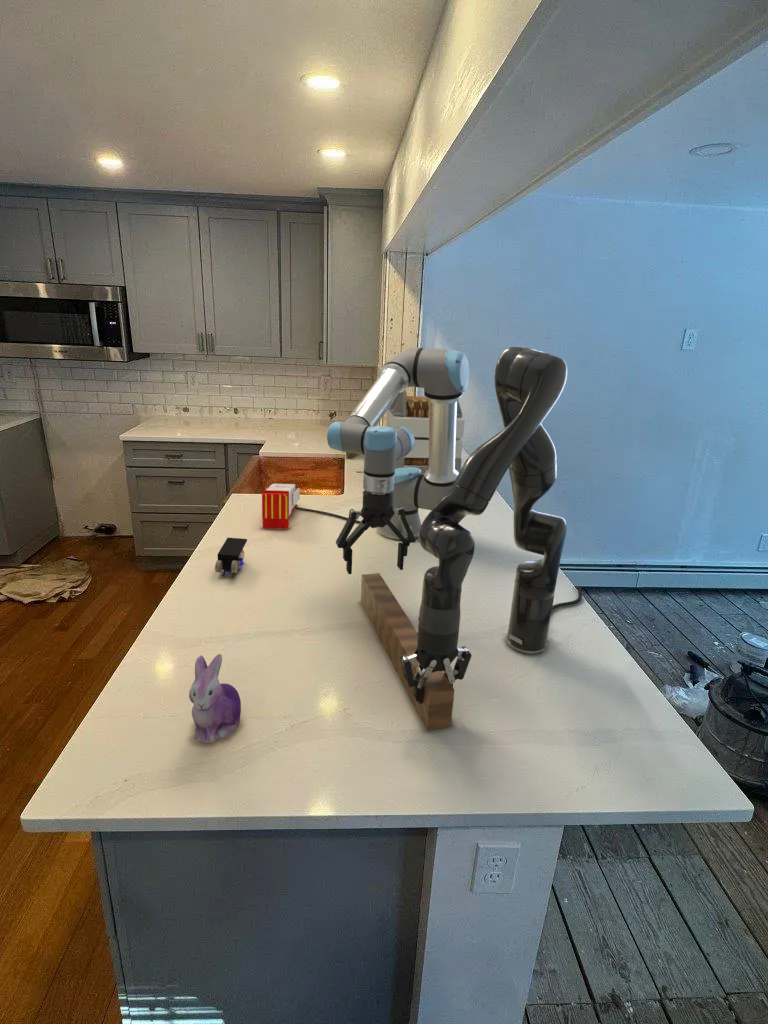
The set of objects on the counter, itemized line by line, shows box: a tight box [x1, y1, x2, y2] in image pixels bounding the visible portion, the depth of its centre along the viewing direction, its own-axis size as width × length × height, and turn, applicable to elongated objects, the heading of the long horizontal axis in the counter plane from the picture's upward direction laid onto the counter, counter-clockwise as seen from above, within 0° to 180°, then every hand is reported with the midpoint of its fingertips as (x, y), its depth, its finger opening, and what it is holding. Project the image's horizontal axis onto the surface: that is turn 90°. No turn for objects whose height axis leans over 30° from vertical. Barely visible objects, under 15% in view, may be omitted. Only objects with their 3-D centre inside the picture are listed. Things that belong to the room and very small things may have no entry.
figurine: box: [188, 653, 242, 744], centre depth 103 cm, size 9×10×15 cm
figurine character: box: [214, 537, 248, 578], centre depth 166 cm, size 7×8×15 cm
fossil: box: [345, 452, 359, 459], centre depth 302 cm, size 22×10×15 cm
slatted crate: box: [385, 389, 465, 473], centre depth 268 cm, size 34×33×41 cm
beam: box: [360, 572, 455, 731], centre depth 129 cm, size 50×5×8 cm, turn 17°
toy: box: [261, 483, 301, 530], centre depth 210 cm, size 12×13×30 cm
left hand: (374, 569), depth 145 cm, fingers open, 13 cm apart
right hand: (432, 698), depth 110 cm, fingers closed on beam, 5 cm apart
